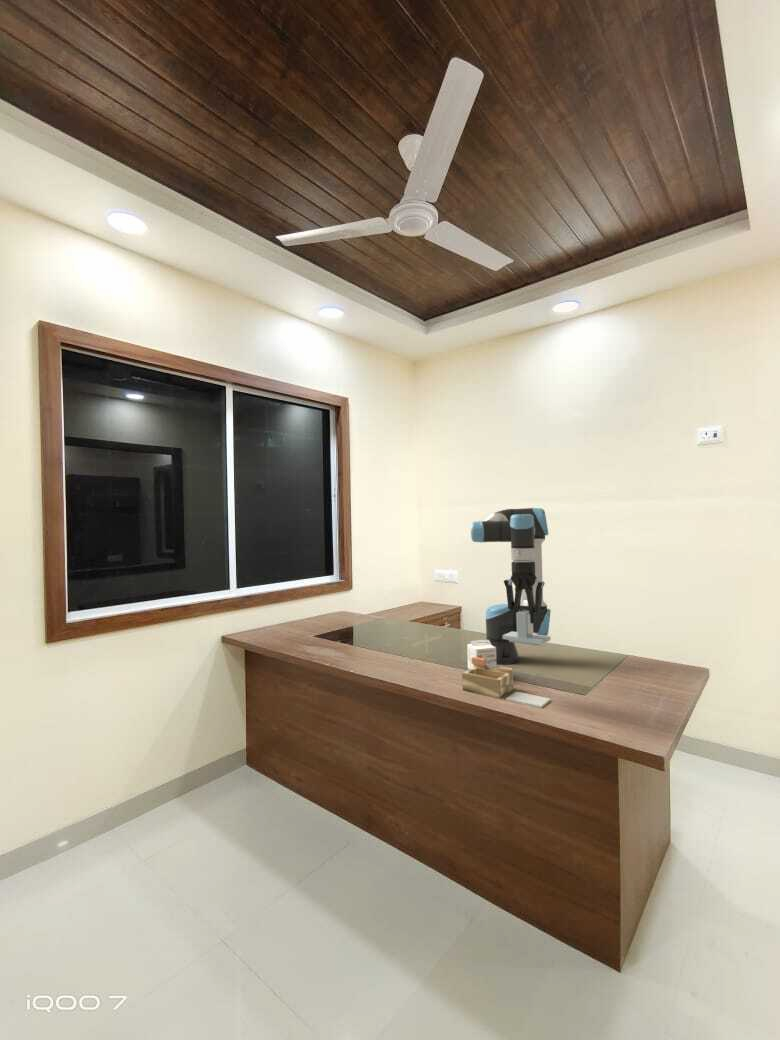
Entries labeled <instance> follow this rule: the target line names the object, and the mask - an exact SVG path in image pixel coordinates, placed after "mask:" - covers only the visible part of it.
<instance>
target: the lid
mask: <svg viewBox="0 0 780 1040" xmlns="http://www.w3.org/2000/svg"><path fill="white" fill-rule="evenodd" d="M528 613H529V611H524V610H523V611H520V612H517V632H513V631H512V632H509V633H507V634H505V635H503V639H507V640H509V642H514V643H515V644H522V645H531V646H538V647H540V646H543V645H544V644H545V643H547V642H549V641H551V635H547V636H544V635H538V633H531V634H528V622H527V614H528Z"/></svg>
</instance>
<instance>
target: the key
mask: <svg viewBox="0 0 780 1040" xmlns="http://www.w3.org/2000/svg"><path fill="white" fill-rule="evenodd" d="M472 664H476V665H482V666H485V665H486V659H484V658H478V657H472Z"/></svg>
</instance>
